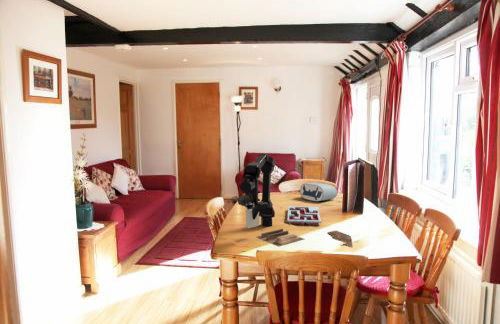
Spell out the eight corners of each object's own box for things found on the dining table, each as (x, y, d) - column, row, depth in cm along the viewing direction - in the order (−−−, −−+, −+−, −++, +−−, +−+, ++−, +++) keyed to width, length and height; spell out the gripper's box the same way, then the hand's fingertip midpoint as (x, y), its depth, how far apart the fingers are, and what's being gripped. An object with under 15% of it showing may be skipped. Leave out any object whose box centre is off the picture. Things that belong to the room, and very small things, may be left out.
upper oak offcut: (276, 239, 178) (276, 237, 178) (291, 235, 184) (291, 233, 184) (281, 241, 175) (282, 239, 175) (296, 237, 181) (296, 235, 181)
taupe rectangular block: (245, 227, 183) (245, 210, 182) (256, 224, 187) (256, 207, 186) (248, 228, 181) (248, 210, 180) (259, 225, 186) (259, 208, 185)
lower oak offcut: (275, 241, 179) (275, 239, 178) (292, 237, 186) (292, 235, 186) (281, 244, 175) (281, 242, 174) (299, 239, 182) (299, 237, 182)
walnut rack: (255, 238, 186) (255, 233, 186) (281, 232, 197) (281, 226, 197) (278, 248, 172) (278, 242, 172) (305, 241, 183) (305, 235, 182)
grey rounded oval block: (299, 198, 280) (300, 182, 279) (314, 196, 293) (315, 180, 292) (322, 203, 264) (323, 186, 263) (337, 200, 277) (338, 184, 276)
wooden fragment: (325, 231, 199) (325, 229, 199) (345, 231, 199) (345, 229, 199) (338, 248, 174) (338, 246, 174) (360, 248, 174) (360, 245, 174)
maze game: (321, 226, 208) (321, 221, 208) (287, 225, 211) (287, 220, 210) (317, 211, 243) (317, 206, 243) (288, 210, 245) (288, 206, 245)
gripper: (229, 188, 185) (229, 217, 187) (251, 194, 170) (251, 226, 172) (246, 185, 191) (246, 214, 193) (269, 191, 177) (268, 222, 178)
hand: (252, 218), depth 184 cm, fingers closed on taupe rectangular block, 2 cm apart
